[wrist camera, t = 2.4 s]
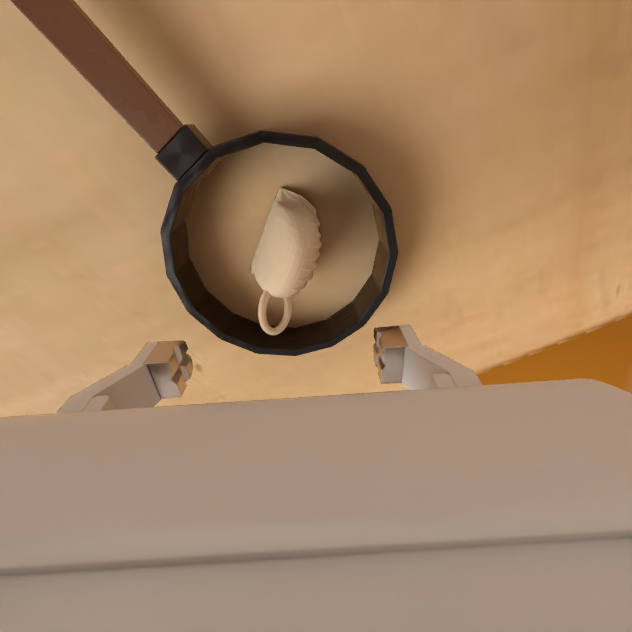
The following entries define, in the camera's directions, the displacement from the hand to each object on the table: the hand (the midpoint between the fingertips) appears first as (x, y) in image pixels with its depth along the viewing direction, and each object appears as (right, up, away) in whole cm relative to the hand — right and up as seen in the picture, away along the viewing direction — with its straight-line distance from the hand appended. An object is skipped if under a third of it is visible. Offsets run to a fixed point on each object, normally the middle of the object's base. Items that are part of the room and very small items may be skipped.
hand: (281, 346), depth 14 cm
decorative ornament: (-1, +6, +10) cm, 12 cm away
